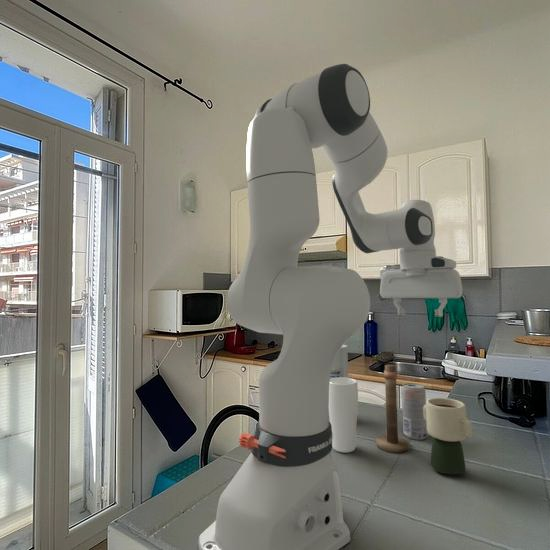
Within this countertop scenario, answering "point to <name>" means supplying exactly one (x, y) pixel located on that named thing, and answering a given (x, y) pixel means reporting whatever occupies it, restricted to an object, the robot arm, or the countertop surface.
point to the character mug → (447, 433)
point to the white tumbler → (343, 413)
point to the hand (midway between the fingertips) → (419, 315)
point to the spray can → (340, 364)
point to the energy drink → (414, 411)
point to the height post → (391, 416)
